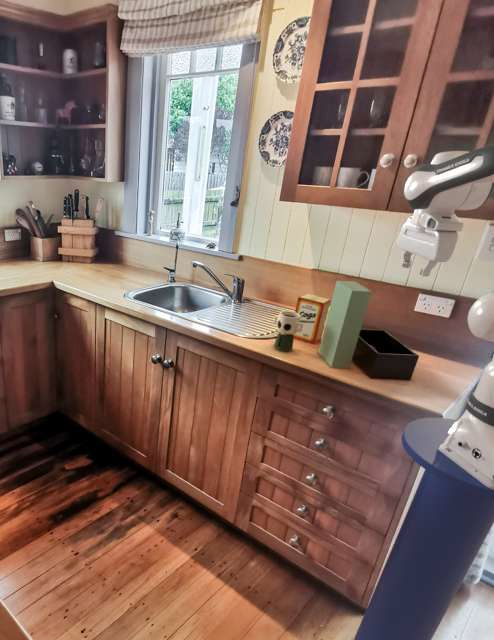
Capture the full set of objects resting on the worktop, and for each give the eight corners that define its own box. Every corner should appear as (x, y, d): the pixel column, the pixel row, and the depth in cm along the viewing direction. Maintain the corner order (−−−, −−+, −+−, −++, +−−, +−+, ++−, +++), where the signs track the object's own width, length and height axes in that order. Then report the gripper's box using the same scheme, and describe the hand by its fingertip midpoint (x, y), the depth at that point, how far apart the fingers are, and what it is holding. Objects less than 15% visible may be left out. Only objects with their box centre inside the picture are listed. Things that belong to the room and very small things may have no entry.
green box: (349, 368, 153) (371, 291, 142) (331, 367, 153) (352, 290, 142) (335, 353, 164) (355, 281, 152) (318, 352, 164) (336, 280, 152)
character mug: (263, 346, 167) (270, 311, 162) (275, 341, 172) (282, 308, 166) (290, 356, 160) (298, 320, 154) (301, 351, 164) (310, 316, 158)
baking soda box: (320, 339, 176) (331, 298, 169) (314, 343, 171) (324, 302, 164) (296, 332, 181) (305, 292, 174) (289, 336, 177) (298, 296, 170)
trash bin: (410, 380, 147) (419, 355, 143) (370, 378, 147) (378, 353, 143) (377, 352, 167) (384, 330, 163) (342, 350, 167) (348, 328, 163)
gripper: (399, 213, 131) (384, 262, 137) (442, 224, 112) (423, 280, 119) (421, 214, 131) (405, 263, 137) (468, 225, 112) (448, 281, 119)
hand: (414, 271), depth 128 cm, fingers open, 8 cm apart
